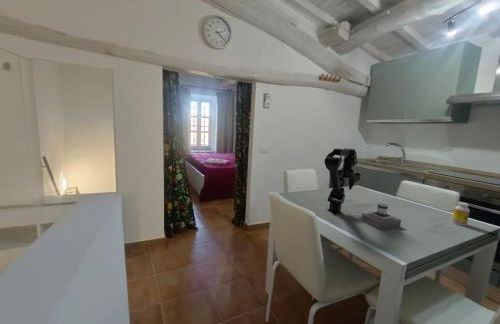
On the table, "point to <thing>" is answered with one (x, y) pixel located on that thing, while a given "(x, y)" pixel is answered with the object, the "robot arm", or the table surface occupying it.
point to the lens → (382, 210)
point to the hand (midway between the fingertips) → (344, 190)
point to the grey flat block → (381, 221)
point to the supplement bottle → (461, 214)
